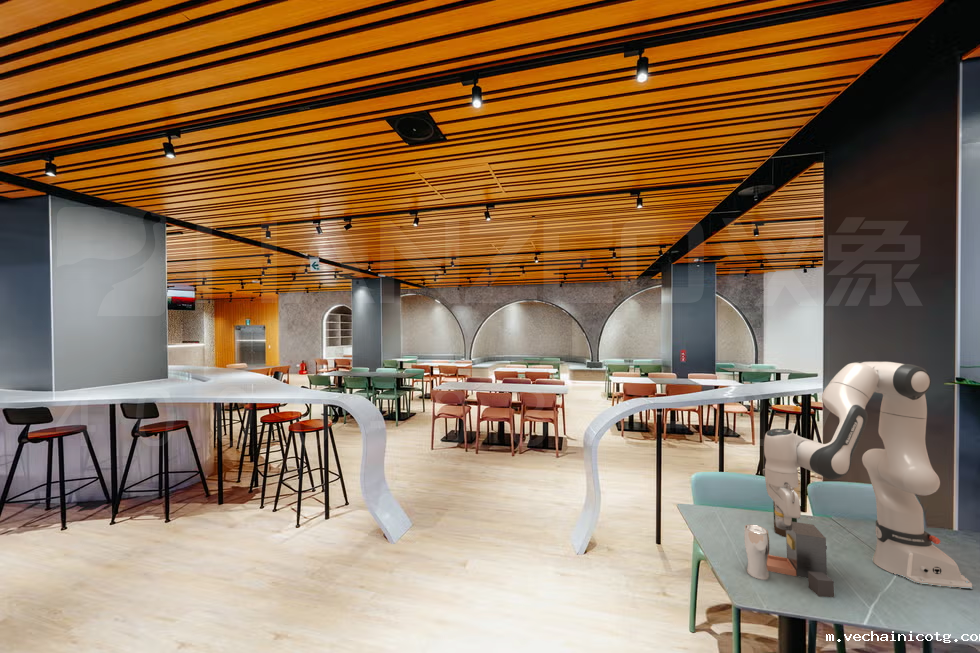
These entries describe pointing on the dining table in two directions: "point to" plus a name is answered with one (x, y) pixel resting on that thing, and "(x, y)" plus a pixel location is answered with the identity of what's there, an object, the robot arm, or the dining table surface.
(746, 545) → the beer glass
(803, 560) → the dark grey block
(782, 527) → the cylinder
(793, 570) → the tray
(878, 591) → the dining table surface
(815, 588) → the rubber block
